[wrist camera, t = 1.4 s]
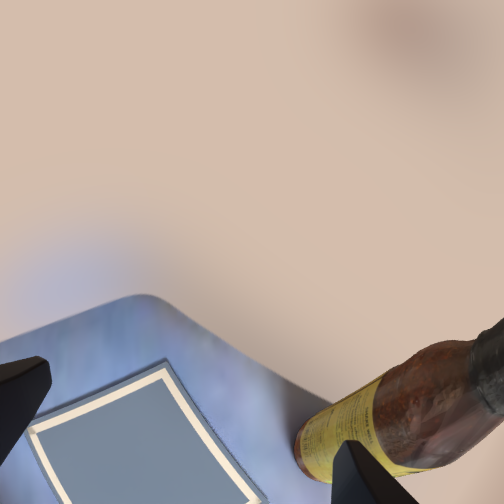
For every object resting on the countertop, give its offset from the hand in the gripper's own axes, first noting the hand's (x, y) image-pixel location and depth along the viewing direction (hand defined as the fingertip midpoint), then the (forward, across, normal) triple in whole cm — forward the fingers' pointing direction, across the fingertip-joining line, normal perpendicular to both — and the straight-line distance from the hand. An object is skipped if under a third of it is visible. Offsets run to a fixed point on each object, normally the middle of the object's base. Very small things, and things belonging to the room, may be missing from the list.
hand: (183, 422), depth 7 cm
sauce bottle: (+11, -9, +11) cm, 18 cm away
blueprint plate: (+5, +4, +13) cm, 15 cm away
